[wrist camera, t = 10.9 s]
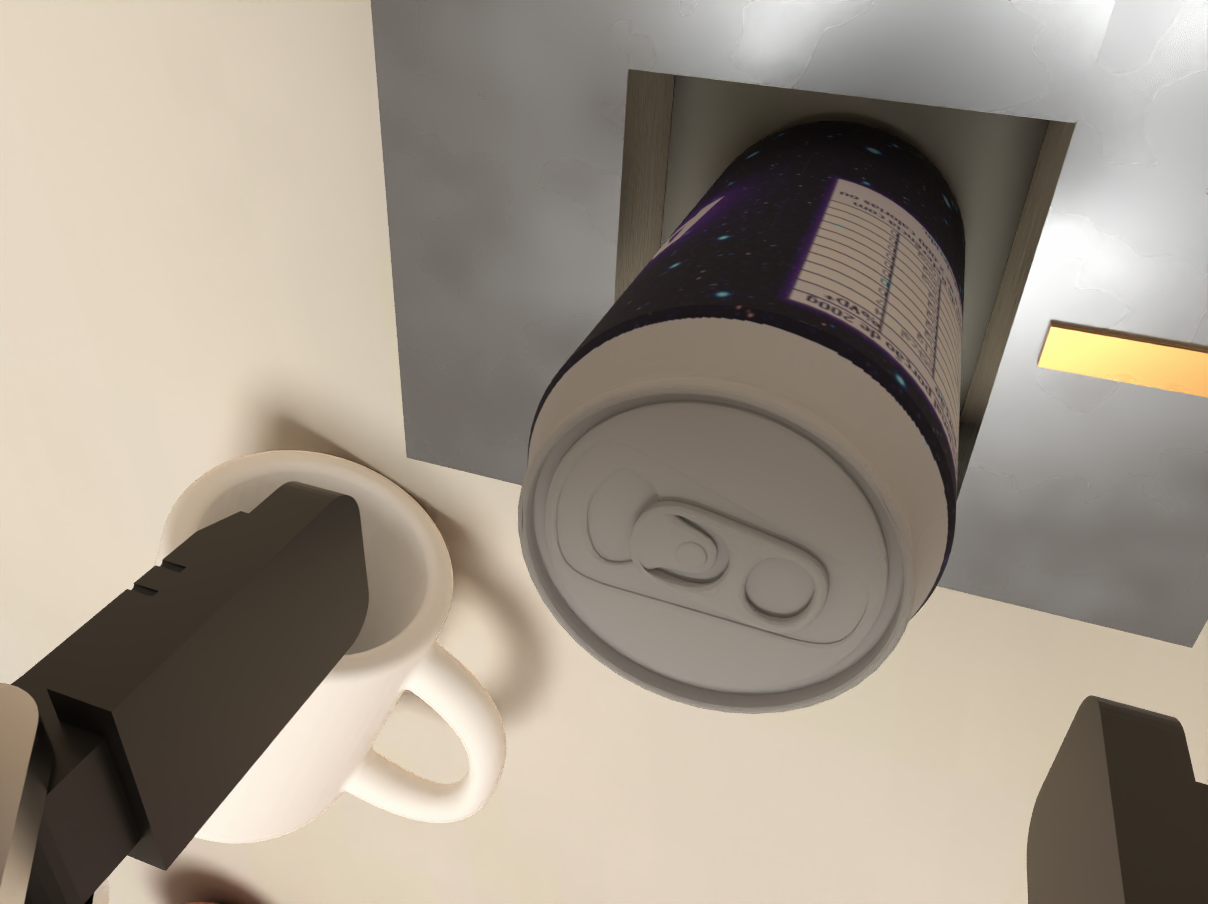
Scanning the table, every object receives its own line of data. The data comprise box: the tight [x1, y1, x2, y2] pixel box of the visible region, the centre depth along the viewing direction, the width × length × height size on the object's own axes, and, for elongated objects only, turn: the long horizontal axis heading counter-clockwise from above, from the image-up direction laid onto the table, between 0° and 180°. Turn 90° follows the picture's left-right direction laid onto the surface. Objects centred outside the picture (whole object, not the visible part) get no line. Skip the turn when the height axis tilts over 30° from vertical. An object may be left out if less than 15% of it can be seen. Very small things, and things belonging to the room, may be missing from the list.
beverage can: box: [518, 121, 965, 714], centre depth 16 cm, size 6×6×12 cm
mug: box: [154, 450, 506, 843], centre depth 29 cm, size 12×10×8 cm
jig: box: [371, 0, 1208, 648], centre depth 19 cm, size 18×12×4 cm, turn 88°
